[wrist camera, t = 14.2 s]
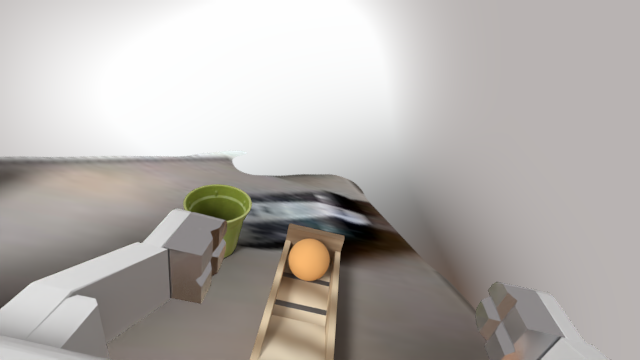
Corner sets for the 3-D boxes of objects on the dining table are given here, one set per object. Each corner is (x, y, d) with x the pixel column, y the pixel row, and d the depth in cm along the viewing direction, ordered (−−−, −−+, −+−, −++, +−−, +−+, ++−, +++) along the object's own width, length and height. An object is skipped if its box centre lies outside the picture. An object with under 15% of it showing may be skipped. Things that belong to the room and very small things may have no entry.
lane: (322, 418, 32) (336, 384, 29) (240, 400, 32) (246, 364, 29) (334, 266, 51) (344, 235, 48) (283, 254, 51) (289, 223, 48)
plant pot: (256, 256, 50) (262, 213, 45) (195, 277, 44) (195, 229, 40) (232, 221, 56) (236, 180, 51) (176, 235, 50) (174, 190, 46)
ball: (281, 268, 48) (278, 263, 43) (303, 235, 50) (303, 226, 44) (314, 290, 47) (316, 288, 42) (335, 255, 49) (339, 250, 44)
